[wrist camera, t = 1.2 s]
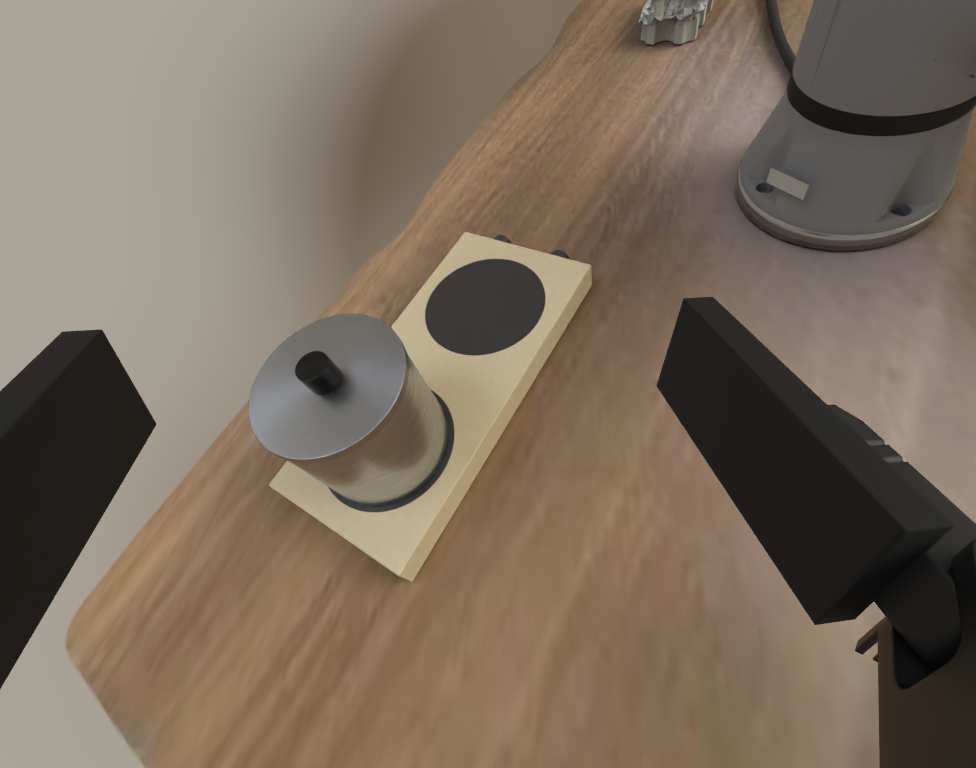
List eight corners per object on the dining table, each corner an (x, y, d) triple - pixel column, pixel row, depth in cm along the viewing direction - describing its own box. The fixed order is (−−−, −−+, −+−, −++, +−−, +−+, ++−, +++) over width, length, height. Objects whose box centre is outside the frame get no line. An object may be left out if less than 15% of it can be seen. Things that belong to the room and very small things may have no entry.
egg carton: (662, 3, 63) (665, -35, 60) (721, 3, 60) (728, -37, 57) (631, 45, 60) (632, 7, 56) (691, 48, 56) (697, 8, 53)
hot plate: (476, 243, 47) (470, 224, 45) (597, 276, 42) (596, 256, 40) (286, 495, 37) (267, 484, 35) (412, 582, 32) (398, 576, 30)
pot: (377, 368, 39) (308, 279, 30) (475, 413, 35) (429, 325, 26) (300, 470, 35) (196, 403, 26) (398, 534, 31) (314, 480, 22)
